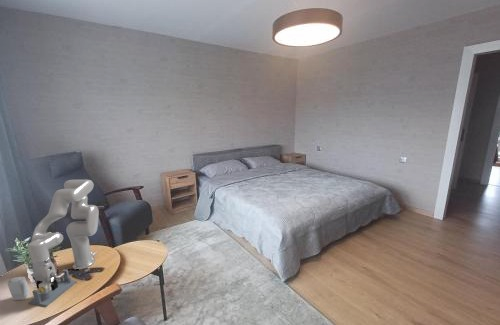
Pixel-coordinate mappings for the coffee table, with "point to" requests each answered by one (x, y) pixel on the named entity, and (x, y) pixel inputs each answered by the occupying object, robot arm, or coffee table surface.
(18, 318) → the coffee table surface
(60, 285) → the slide rail
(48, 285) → the sleeve
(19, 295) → the skincare box
